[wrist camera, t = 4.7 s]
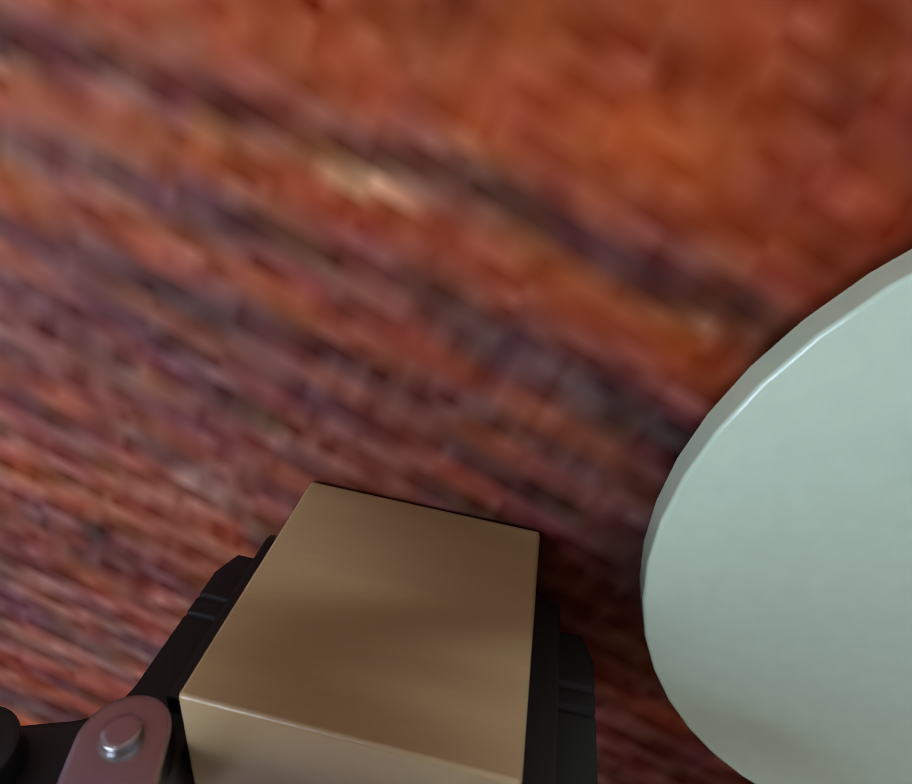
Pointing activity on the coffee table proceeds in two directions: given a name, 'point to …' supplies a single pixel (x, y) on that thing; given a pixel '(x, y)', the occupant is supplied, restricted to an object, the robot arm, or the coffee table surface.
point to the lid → (797, 553)
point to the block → (371, 652)
